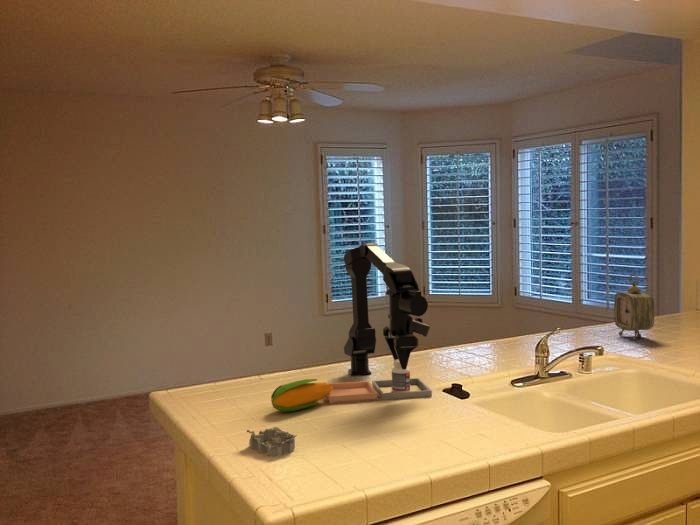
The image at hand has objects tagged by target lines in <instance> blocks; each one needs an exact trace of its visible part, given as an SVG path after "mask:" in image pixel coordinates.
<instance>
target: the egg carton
mask: <svg viewBox="0 0 700 525" xmlns="http://www.w3.org/2000/svg"><path fill="white" fill-rule="evenodd" d="M246 433H249V434H251V435H250V437H249V440H248V441H249V444H248V445H249V449H252V450H254V449H255V450H256V449H257V450H258V453H261V452H263V453H267V452H268V453H267V456H268V457H270V456H272V457H277V456H279V457H281V455H282V454H283V453H294V452H295V448H296V446H295V445H296V444H295V443H296V442H295V439H296V437H297V436H298V434H296V435H295V434H291V433H290V432H289V431H284V430H281V429H280V428H279V427H277V426H275V427H271V428H266V429H265V430H264V431H262V430H260V431H259V432H258V434H255V431H253V430H252V431H251V430H249V429H247V430H246ZM265 441H266V442H265ZM269 442H270V443H269Z"/></svg>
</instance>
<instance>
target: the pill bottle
mask: <svg viewBox="0 0 700 525" xmlns="http://www.w3.org/2000/svg"><path fill="white" fill-rule="evenodd" d="M393 366H394V367H393V368H392V369H391V380H392V386H391V391H392V393H393V392H408V391H411V384H410V379H411V371H410V368H409V367H408V364H407V368H406V369H402V367H401V365H400V362H399V359H397V360H394V359H393Z"/></svg>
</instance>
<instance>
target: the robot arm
mask: <svg viewBox="0 0 700 525" xmlns="http://www.w3.org/2000/svg"><path fill="white" fill-rule="evenodd" d="M343 262H344V267H345V271H346V272H347V274H348V275H349V277H350V278H351V279H350V280H351V297H352V298H351V302H352V317H353V320H352V321H353V323H352V325H351V327H350V329H349V331H348V339H347V341H346V342H345V345H344V347H343V352H344V355H346V356H349V357H350V368H349V369H348V372H349V374H350V376H357V375H358V376H359V375H360V376H362V375H363V376H364V375H371V374H372V371H371V370H370V367H369V355H370V354H372V355H373V354H375V351H376V344H377V338H376V329H375V327H372V325H371V323H370V319H369V317H370V316H369V300H368V282H367V281H368V279H367V277H368V276H369V274H370V271H371V269H372V265H373V266H374V267H375V268H376V269H377V270H379V272H381V274H382V281H383V282H384V283H385V285H386V286H387V288H388V289H387V290H386V292H385V294H386V295H387V296H389V298H388V300H389V301H388V302H389V314H387V317H388V319H389V325H385V327H383V329H382V330H383V332H382V335H383V336H384V340H385V343H386V344H387V347H388V348H389V350H390V353H391V355H392V358H393V361H394V360H397V359H399V362H400V365H401V367H402V369H406V368H408V366H407V364H408V363H409V359H410V356H411V352H413V351H414V350H415V349H417V347H419V338H418V337H417V336H415V334H418V335H421V336H422V337H425V338H426V337H428V334H429V331H430V328H431V326H430V325H428V324H427V323H424V322H423V318H420V317H422V316H423V315H425V313H427V310H428V307H429V303H428V301H427V299H426V297H424V296H423V295H422V291H421V290H420V288H419V284H418V282H417V280H416V278H415V275H414V273H413V271H412V270H411V268H409V267H408V266H407V265H404V264H403V263H402V264H401V263H398V262H396V261H394V260H393V258H391V257H390V256H389V255H388V254H386V252H385V251H383V250H382V249H381V248H380V246H379V244H378V243H375V242H367V243H363V244H361V245H359V246H358V247H355V248H353V249H348V250H347V251H346V252H345V254H344V255H343ZM413 316H415V318H413ZM414 333H415V334H414Z"/></svg>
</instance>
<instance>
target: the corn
mask: <svg viewBox="0 0 700 525" xmlns="http://www.w3.org/2000/svg"><path fill="white" fill-rule="evenodd" d="M315 381H318V379H317V378H307V379H301V380H296V381H293V382H289V383H286V384H281V385H279V386H277V387H276V388H275V390H274V391H273V392H272V394H271V398H270V402H271V405H272V407H273V408H274V409H275V410H277V411H279V412H283V413H291V412H295V411H298V410H303V409H308V408H311V407H312V406H315V405H317V404H319V401H321V400H323V399H324V398H326V397H327V396H326V395H327V394H329V393H330V392H331V391H332V390H333V386H331V385H329V384H330V383H327V382H315Z"/></svg>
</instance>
